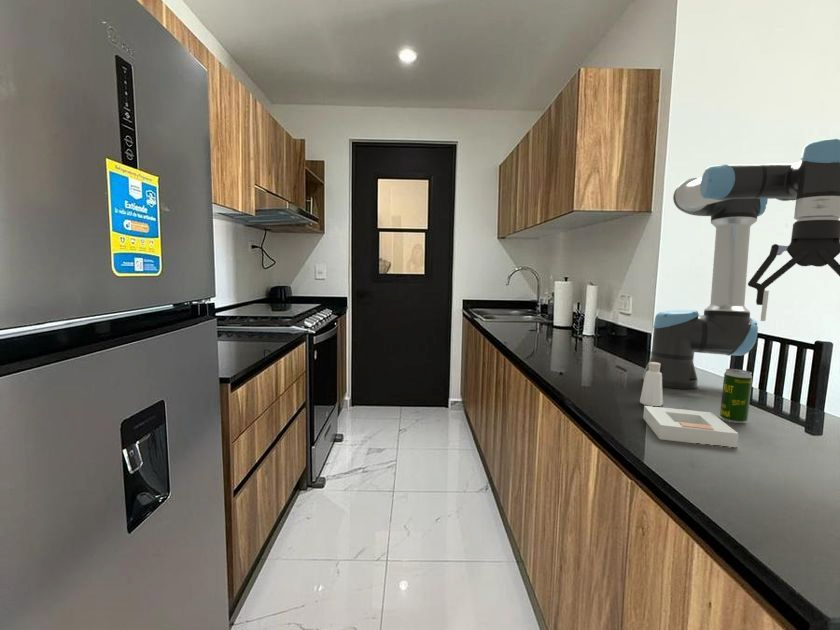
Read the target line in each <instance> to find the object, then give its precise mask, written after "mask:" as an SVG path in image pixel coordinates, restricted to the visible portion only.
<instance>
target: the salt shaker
mask: <svg viewBox="0 0 840 630" xmlns="http://www.w3.org/2000/svg"><path fill="white" fill-rule="evenodd" d="M648 363H649V371H647V372H646V374H645V379H644V380H643V385H642V389H641V393H640V394H641V395H640V397H639V398H640V399H639V403H640V404H642V405H644V406H652V407H653V406H660V407H662V406H663V403H664V401H663V386H662V373H660V372H659V371H660V366H661V364H660V363H657V362H649V361H648ZM661 405H662V406H661Z"/></svg>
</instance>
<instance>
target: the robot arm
mask: <svg viewBox="0 0 840 630" xmlns="http://www.w3.org/2000/svg"><path fill="white" fill-rule="evenodd" d="M799 159H800V161H798V162H793V163H765V164H763V163H762V164H760V163H759V164H720V165H711V166H708V167H707V168H705V170H704V172H703V174H702V176H701V177H692V178H688V179H686V180H684V181H683V182H681V183H680V184H678V185H677V186H676V188H675V190H674V191H673V197H672V201H673V204H674V205H675V207H676V208H677V209H678V210H679V211H681V212H683V213H685V214H687V215H691V216H695V217H696V216H697V217H710V224H711V225H712V226H713V227H714V228H715V239H714V250H713V251H714V253H713V254H714V255H713V264H712V265H713V268H712V281H711V291H710V293H711V294H710V304H709V305H708V306H707V307H706V308H704V310H703V315H701V314H699V312H698V310H694V309H685V310H684V309H678V310H676V309H675V310H665V311H660V312H658V313H657V314H656V315H655V317H654V322H653V326H652V327H653V334H652V344H651V345H652V346H651V356H650V359H649V361H648V363H647V365H646V367H645V370H644V371H643V375H642V376H643V377H642V381H644V379H645V374H646V372H647V371H649V362H657V363H660V364H661V366H660V371H659V372H660V373H662V388H670V389H679V390H693V388H694V389H697V388H698V384H699V378H698V376H697V372H696V368H695V364H694V356H695V353H698V354H699V353H701V354H711V355H722V356H723V355H724V356H744V355H747V354H748V353H750V352H751V350H752V349H753V348H754V346H755V344H756V341H757V338H758V333H759V332H758V331H759V327H758V321H757V320H756V319H755V318H753V317H751V311H750V310H749V309H748V308H747V307H746V306H745V302H746V288H747V287H746V286H748V287H750V288H753V289H755V290H757V291H756V300H755V302H756V303H755V304H756V305H757V306H761V314H760V322H766V319H767V311H768V302H769V294H770V293H769V292H770V290H766V288H767V287H769V286H770V285H771V284H773V283H774V282H775V281H777V280H778V279H779V278H780V277H781V276H782V275H784V274H785V273H786V272H788V271H789V270H790V269H791V268H793V267H794V266H795V265H798V266H799V267H800V266H801V267H810V266H813V267H817V268H818V267H824V266H827V265H828V266H829V267H830V268H831V269H832V270H833V272H834V273H836V275H838V276H839V277H840V263H839V262H838V261H837V260H836V259H835V258H836V257H837V256H839V254H840V138H829V139H828V138H827V139H821V140H815V141H812V142H809V143H807V144H805V146H804V147H803V149H802V152H801V156H800V158H799ZM769 199H772V200H773V199H776V200H778V201H781V202H789V201H795V207H794V214H793V215H794V216H793V219H795V220H796V221H795V222H794V223H793V224H792V231H791V238H790V239H791V240H790V243H789V245H778V244H776V243H773V244H772V245H771V248H770V251H769V255H768V256H767V257H766V258H765V260H764V261H763V262H762V264H760V266H759V268H758V269H757V270H756V272H755V273H754V275H753V276H752V277H751V278H750V279H749V281H748V283H747V276H748V275H747V274H748V262H749V260H748V259H749V249H750V248H749V247H750V236H751V227H752V226H753V225H754V224H755V223H757V221H758V217H760V216H762V215H763V214H764V213H765V212H766V210H767V205H768V200H769ZM784 252H786V253H788V255H789V256H790V257H791V259H790V260H788V261H787V262H786V263H785V264H783V265H782V266H781V267H780V268H778V269H777V270H776V271H775V272H774V273H773V274H771V275H770V276H769V277H767V278H766V279H764V281H762V282H761V283H759V280H760V279H761V278H762V277H763V276H764V274H765V273H766V271H767V270H768V268H770V266H771V265H772V263H773V262H774V261H775V260H776V258H777V256H781V255H782V254H783V253H784Z"/></svg>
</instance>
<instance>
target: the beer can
mask: <svg viewBox="0 0 840 630" xmlns="http://www.w3.org/2000/svg"><path fill="white" fill-rule="evenodd" d="M752 374H753V373H752V372H751V371H748V370H746V369H745V370H744V369H737V368H725V372H724V374H723V383H722V391H721V393H722V394H721V401H720V402H721V403H720V410H719V411H720V412H719V417H720V419H721V418H722V419H724V420H726V421H725V422H727V421H730V422H734V423H733V424H735V423H745V424H746V423H747V421H748V417H749V408H750V402H751V401H750V400H751V392H752V384H753V376H752ZM722 419H721V420H722ZM724 420H723V421H724ZM730 422H729V423H730Z"/></svg>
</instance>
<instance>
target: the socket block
mask: <svg viewBox="0 0 840 630" xmlns="http://www.w3.org/2000/svg"><path fill="white" fill-rule="evenodd" d="M642 416H643V417H642V418H643V420H644V421H645V422H646V423H647V425H648V426H649V428H650V429H651V430H652V431H653V433H654V434H655V435H656V437H657V438H658V439H659V440H662V441H663V440H665V441H670V442H671V441H673V442H681V443H691V444H696V443H700V444H699V445H705V444H710V445H709V446H713V445H721V446H720V447H722V446H729V447H728V448H731V447H737V448H738V443H739V432H737V431H736V430H735V429H733V428H732V427H730V426H729V425H728V424H727V423H725V421H724V420H722V419H721V418H719V417H718V416H717V415H716V414H714V413H713V412H712V411H711V412H710V411H702V410H701V411H700V410H699V411H698V410H692V409H691V410H689V409H682V408H681V409H680V408H671V407H670V408H669V407H662V406H660V407H653V406H648V405H644V406H643V415H642Z"/></svg>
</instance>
